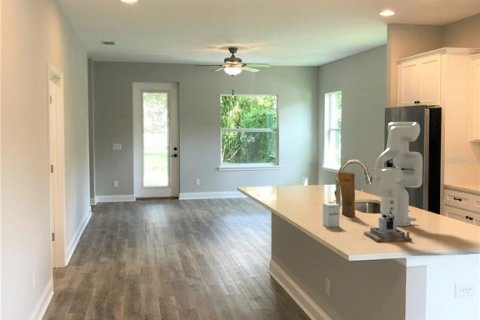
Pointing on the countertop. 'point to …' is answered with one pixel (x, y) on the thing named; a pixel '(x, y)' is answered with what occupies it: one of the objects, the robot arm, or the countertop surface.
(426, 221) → the countertop surface
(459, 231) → the countertop surface
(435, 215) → the countertop surface
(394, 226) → the medicine box
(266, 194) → the countertop surface
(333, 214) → the supplement box
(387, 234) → the carrier board
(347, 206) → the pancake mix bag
